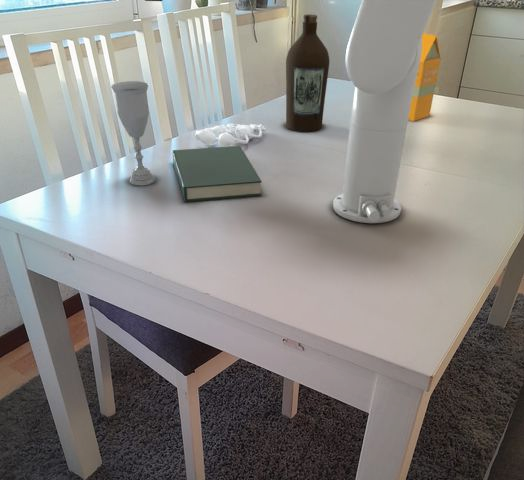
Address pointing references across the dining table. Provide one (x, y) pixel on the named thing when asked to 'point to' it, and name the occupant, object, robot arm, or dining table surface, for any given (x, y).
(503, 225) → the dining table surface
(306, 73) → the olive oil
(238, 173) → the book
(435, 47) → the orange juice
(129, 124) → the chalice
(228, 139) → the tangled rod sculpture
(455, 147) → the dining table surface
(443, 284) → the dining table surface
